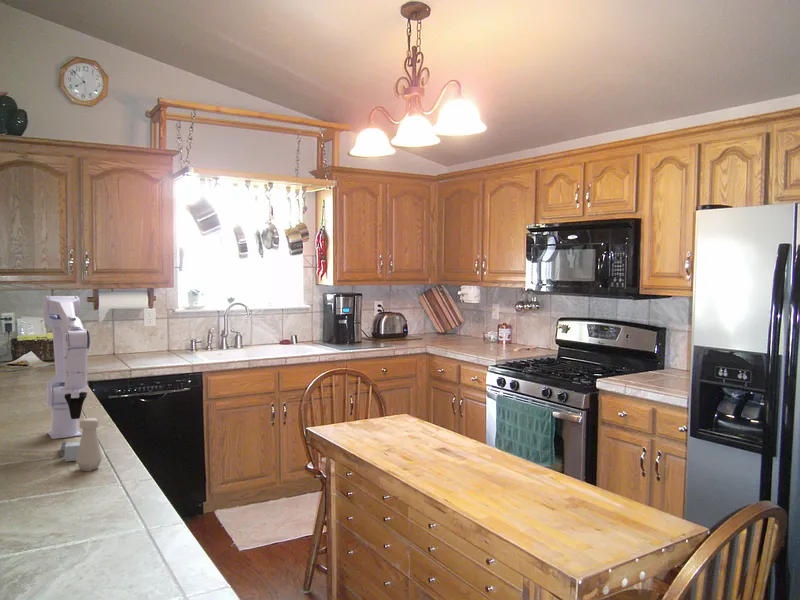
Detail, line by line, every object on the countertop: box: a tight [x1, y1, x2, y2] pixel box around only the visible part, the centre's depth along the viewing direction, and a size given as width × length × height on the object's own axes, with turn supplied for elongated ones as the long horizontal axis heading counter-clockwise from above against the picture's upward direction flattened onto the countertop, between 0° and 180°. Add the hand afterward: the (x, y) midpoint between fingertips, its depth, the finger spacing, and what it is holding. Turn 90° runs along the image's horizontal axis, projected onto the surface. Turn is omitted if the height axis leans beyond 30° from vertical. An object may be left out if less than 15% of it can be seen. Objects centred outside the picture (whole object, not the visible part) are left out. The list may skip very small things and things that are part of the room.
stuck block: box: [64, 441, 80, 462], centre depth 162 cm, size 4×4×4 cm
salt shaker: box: [76, 417, 103, 472], centre depth 154 cm, size 6×6×13 cm
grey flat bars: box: [59, 440, 67, 458], centre depth 169 cm, size 9×7×2 cm
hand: (75, 418), depth 173 cm, fingers closed
